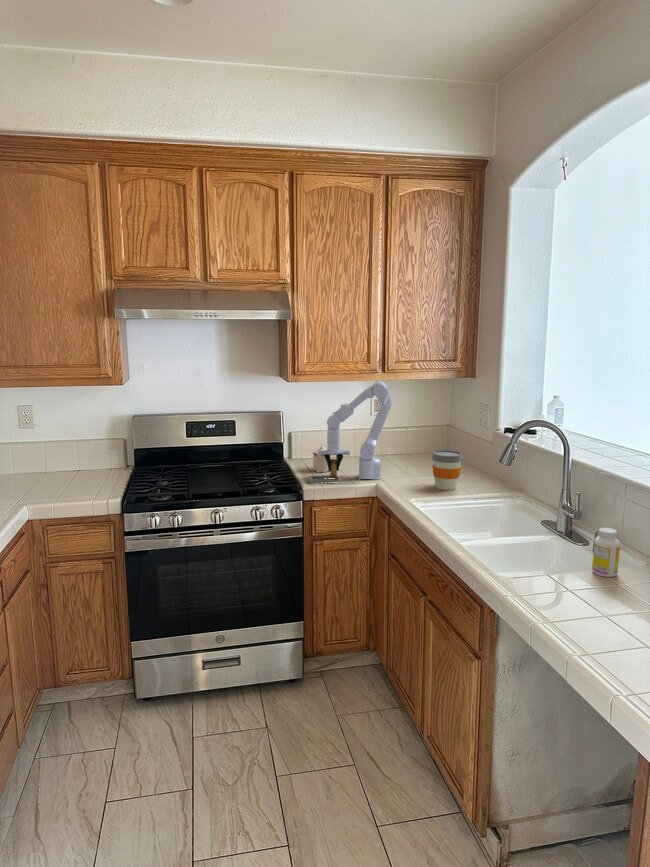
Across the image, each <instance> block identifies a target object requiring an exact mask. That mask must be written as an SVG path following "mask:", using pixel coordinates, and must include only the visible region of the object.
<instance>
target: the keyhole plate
mask: <svg viewBox="0 0 650 867" xmlns="http://www.w3.org/2000/svg"><path fill="white" fill-rule="evenodd" d="M337 475H338V474H337ZM337 475H330V474H329V475H328V474H327V475H326V474H325V475H324V474H323V475H307V481H308V480H309V481H308V484H309V483H321V482H323V483H325V482H327V484H329V483H328V482H339V483H340V480H339V477H338V476H337ZM324 478H327V479H324ZM328 478H335V479H328Z"/></svg>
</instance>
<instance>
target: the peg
mask: <svg viewBox="0 0 650 867" xmlns="http://www.w3.org/2000/svg"><path fill="white" fill-rule="evenodd" d="M330 468H331V471H330V472H329V475H338V473H337V472H338V471H337V458H331V460H330Z"/></svg>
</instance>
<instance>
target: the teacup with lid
mask: <svg viewBox="0 0 650 867" xmlns="http://www.w3.org/2000/svg"><path fill="white" fill-rule="evenodd" d="M323 450H327V448H326V447H325V446H321V445H320V448H318V449H316V450H313V452H312V457H313V458H312V459H313V461H312V462H313V464H312V465H313V466H312V467H313V471H314V470H315V471H319V472H318V473H320V472H325V473H327V472H326V471H329V470H328V465H327V461H326V459H325V457H324V455H320V456H318V455H317V451H323ZM330 458H331V459H332V455H330ZM315 471H314V472H315Z"/></svg>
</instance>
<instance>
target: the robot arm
mask: <svg viewBox="0 0 650 867" xmlns="http://www.w3.org/2000/svg"><path fill="white" fill-rule="evenodd" d="M374 397H376V399H378V402H379V404H380V405H379V409H378V411H377V413H376V415H375V417H374V420H373V423H372V425H371V428H370V430H369V432H368V435H367V437H366V438H365V442H363V443H362V444H361V446H360V452H359V454H360V456H359V458H358V459H359V461H358V464H359V465H358V474H357V475H358V476H357V478H358V477H359V478H358V479H359V480H360V479H373V480H381V461H380V458H376V457H375V449H376V445H377V442H378V440H379V437H380V434H381V432H382V429H383V427H384V425H385V422H386V420H387V418H388V415H389V413H390V410H391V409H392V406H393V405H392V404H393V403H392V400H391V399H392V398H391V394H390V390H389V388H388V386H387V384H386V382H384V381H382V380H378V381H375V382H374V384H371V385H369V386H368V387H367V388H365V389H363V391H362V392H361V393H359V394H358V395H357V396H356V397H355V398H354V399H353V400H352V401H350V403H343V404H341V405H340V408H338V409H337V410H336V411H333V412H332V414H331V415H330V416H328V418H327V419H326V425H327V433H326V434H327V436H326V438H327V439H326V440H327V446H326V447H327V448H326V449H327V450H323V451H317V455H318V456H320V455H324V457H325V459H326V461H327V465H328V470H329V471H331V468H330V460H331V459H332V457H331V458H330V455H331V456H335V457H336V460H337V472H339V469H340V465H341V462H342V460H343V459H344V456H350V455H351V453H350V450H349V449H341V431H340V425H341V423H343V422H345V421H346V420H347V419H348V418H350V417H351V416H352V415H353V414H354V413H355V412H354V411H355V409H356V408H357V407H358V406H359V405H361V404H362V403H363V402H365V401H366V400H367V399H374Z"/></svg>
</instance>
